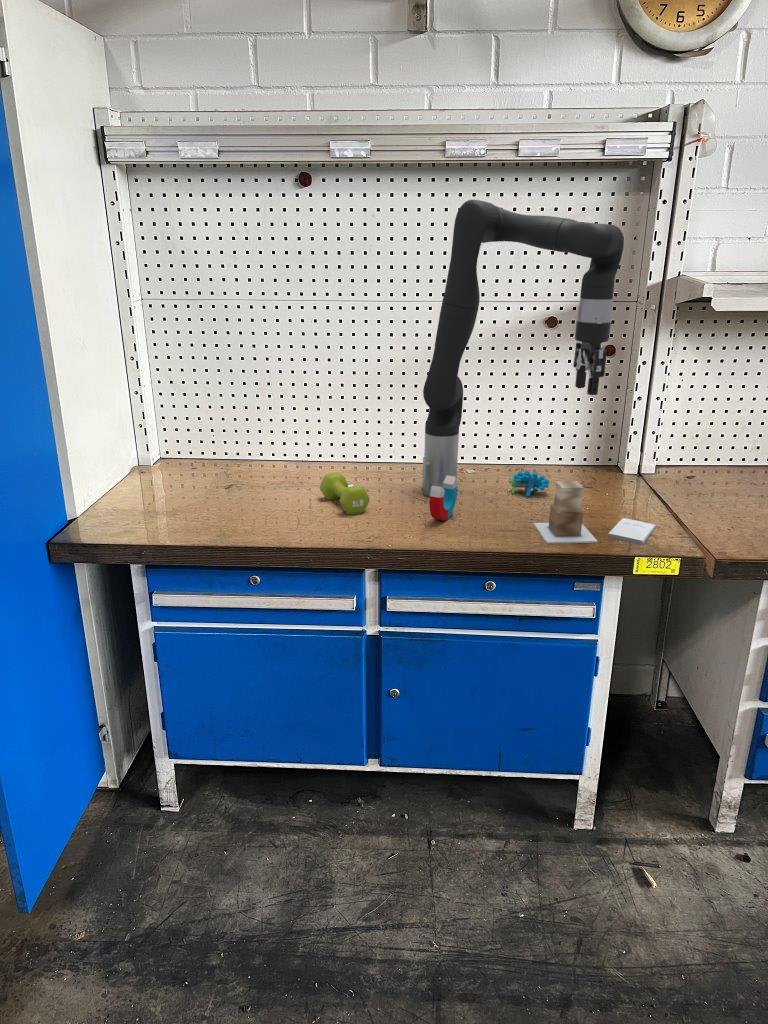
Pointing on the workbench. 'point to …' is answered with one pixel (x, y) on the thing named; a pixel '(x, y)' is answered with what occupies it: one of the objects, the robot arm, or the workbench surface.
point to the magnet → (443, 499)
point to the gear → (528, 482)
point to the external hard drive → (632, 531)
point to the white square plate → (551, 538)
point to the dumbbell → (344, 493)
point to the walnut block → (565, 522)
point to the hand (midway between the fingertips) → (585, 391)
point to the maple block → (568, 496)
